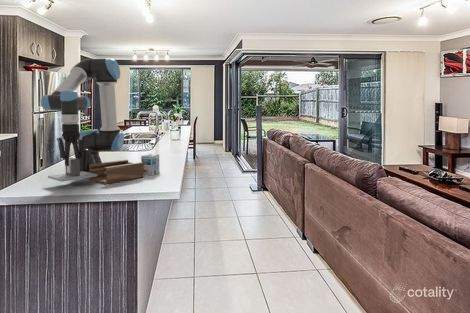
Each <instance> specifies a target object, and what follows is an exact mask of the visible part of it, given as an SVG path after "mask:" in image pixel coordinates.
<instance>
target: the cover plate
mask: <svg viewBox="0 0 470 313" xmlns="http://www.w3.org/2000/svg"><path fill="white" fill-rule="evenodd" d="M69 159H71V173H68V172H67V166H65V165H64V166H65V168H64V169H65V173H60V174H51V175H48V176H47V179H51V180H55V181H57V182H68V181H76V180H81V179H90V177H96V176H97V174H94V173H89V172H85V171H80V160H79V159H75V157H74V158H73V157H69Z"/></svg>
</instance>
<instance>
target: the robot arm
mask: <svg viewBox="0 0 470 313" xmlns="http://www.w3.org/2000/svg"><path fill="white" fill-rule="evenodd" d="M120 78H121V69H120V64H119V63H118V62H117V60H116V59H114V58H106V57H105V58H86V59H83V60H81V61H79V62H78V63H76V64H74V66H73V67H71V69H70V71H69V74H68V75H67V76H66V78H64V79H63V81H61V83H60V84H59V85H58V86H57V87H56V89H54V91H53V92H52V93H51V94H45V95H43V96H42V97H41V99H40V104H41V107H42V109H43V110H45V111H61V113H60V114H61V123H62V124H61V131H62V132H61V133H62V134H61V136H60V137H56V141H57V143H58V149H59V156H60V159H63V160H64V166H67V172H68V173H71V159H69V158H70V152H71V145H72V148H73V153H74V158H75V159H79V160H80V158H81V157H82V156H83V151H84V149H88V150H91V149H92V152H91V153H92V155H93V158H94V161H95V164H96V163H103V162H102V161H103V160H102V159H101V156H100V152H113V153H114V152H119V151H121V150H122V148H123V146H124V144H125V143H124V141H125V135H124V132H123V131H121V128H120V127H119V126H118V121H117V120H118V119H117V101H116V89H115V88H116V87H115V86H116V84H117V83H118V80H119V79H120ZM87 80H95V83H96V84H97V85H98V89H99V102H100V103H99V104H100V115H101V116H100V118H101V127H100V128H99V129H98V128H97V129H90V130H89V129H88V130H81V131H80V124H79V120H80V118H79V117H80V116H79V111H80V112H81V111H82V112H84V111H87V110H88V109H89V108H90V106H91V101H90V99H89V97H88V96H85V95H82V94H81V95H80V94H79V95H78V91H76V90H77V89H78V88H79V87H80V85H81V84H82V83H84V82H86V81H87Z"/></svg>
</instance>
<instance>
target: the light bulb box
mask: <svg viewBox="0 0 470 313" xmlns="http://www.w3.org/2000/svg"><path fill="white" fill-rule="evenodd" d="M140 159H141V162H142V163H144V176H154V175H157V174H158V173H160V153H147V154H144V155H141V156H140Z"/></svg>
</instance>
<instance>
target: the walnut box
mask: <svg viewBox="0 0 470 313" xmlns="http://www.w3.org/2000/svg"><path fill="white" fill-rule="evenodd" d="M89 173H94V174H97V176H96V177H89V181H90V180H91V181H92V182H95V183H98V184H99V183H100V184H104V185H107V184H108V185H113V184H119V183H125V182H130V181H135V180H136V181H137V180H141V179H145V175H144V163H142V162H130V161H129V160H128V159H121V160H120V159H119V160H115V161H114V160H112V161H106V162H105V161H104V162H102V163H96V164H89Z"/></svg>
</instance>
